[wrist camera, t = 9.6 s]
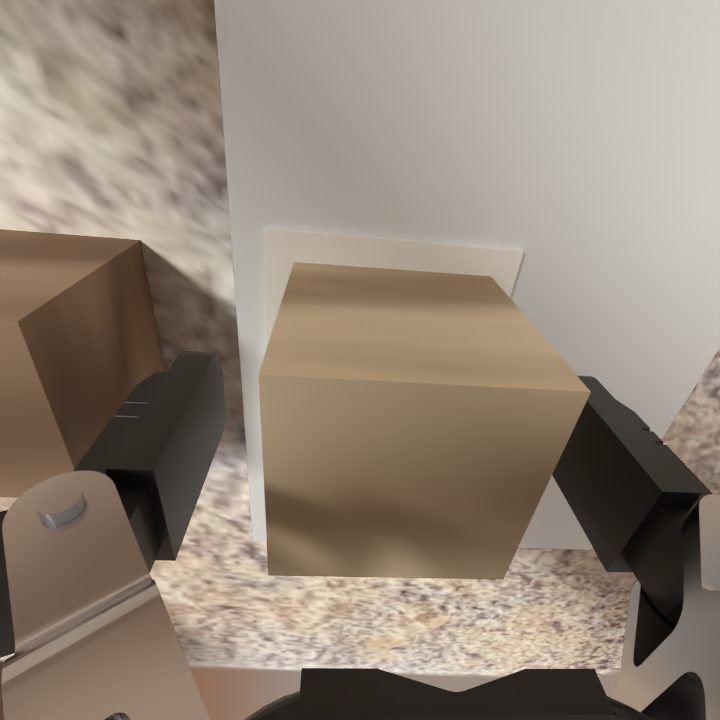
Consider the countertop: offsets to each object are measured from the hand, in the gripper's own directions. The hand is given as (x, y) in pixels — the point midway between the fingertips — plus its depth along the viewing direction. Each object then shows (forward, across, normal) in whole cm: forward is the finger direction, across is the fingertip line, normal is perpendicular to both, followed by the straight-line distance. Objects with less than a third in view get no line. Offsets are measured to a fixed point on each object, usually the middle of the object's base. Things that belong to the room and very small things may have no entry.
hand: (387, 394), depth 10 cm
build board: (+3, -3, 0) cm, 4 cm away
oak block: (+2, 0, 0) cm, 2 cm away
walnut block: (+3, +9, 0) cm, 10 cm away
